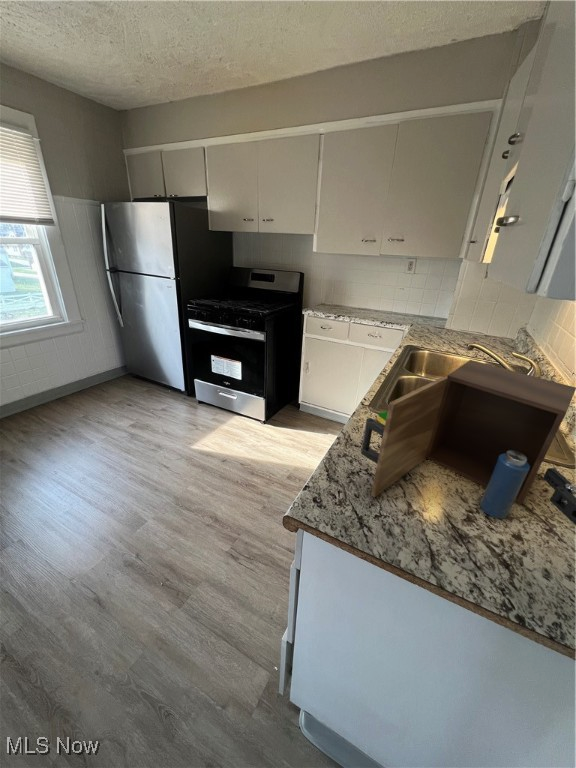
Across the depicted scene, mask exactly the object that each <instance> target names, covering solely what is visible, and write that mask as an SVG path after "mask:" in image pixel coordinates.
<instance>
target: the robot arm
mask: <svg viewBox="0 0 576 768" xmlns="http://www.w3.org/2000/svg"><path fill="white" fill-rule="evenodd" d="M543 481H545V483H547V484H548V485H549V487H551V488H552V489H553V490H554V491H553V494H552V495H551V496H550V498H549V501H550V502H551V504H552V505H553V506H554V507H556V508H557V509H558V510H559V511H560V512H561V513H562V514H563V515H564V516H565V517H566V518H567V519H569V521H571V523H572V524H574V525H575V526H576V497H575V496H574V495H576V486H575V485H573V483H572V482H571V481H569V480H568V479H567V477H565V476H564V475H563V474H562V473H560V472H559V471H558V470H557V469H556V468H554V467H548V468H546V471H545V473H544V474H543Z"/></svg>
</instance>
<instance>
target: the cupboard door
mask: <svg viewBox="0 0 576 768" xmlns="http://www.w3.org/2000/svg"><path fill="white" fill-rule="evenodd" d="M447 380H448V377H447V376H445V375H444V376H441V377H439V378H437V379H435V380H433V381H431V382H429V383H427V384H425V385H423V386H421V387H419V388H417V389H415V390H412V391H410V392H408V393H407V394H405V395H402V396H400V397H398V398H396V399H394V400H392V401H390V402H389V404H388V408H387V412H388V413H387V418H386V423H385V425H383V424H382V423H380V422H379V421H378V420H375V419H374V418H372V417H368V418H366V421H365V427H364V433H363V437H362V444H361V450H360V454H361V455H362V456H364V457H365V458H367V459H368V460H370V461H372V462H373V463H375V464H376V468H375V472H374V478H373V483H372V488H371V492H370V496H371V497H372V498H377V496H379V495H380V494H382V492H384V491H386V490H387V489H388V488H389V487H391V486H392V485H393V484H394V483H396V482H398V480H400V479H401V478H403V477H404V476H405V475H406V474H408V473H409V472H410V471H412V470H413V469H415V468H416V467H417V466H418V465H419V464H421V463H422V462H423V461H425V460H426V458H425V457H426V454H427V450H428V447H429V443H430V439H431V436H432V432H433V429H434V425H435V422H436V418H437V415H438V411H439V408H440V404H441V401H442V397H443V394H444V390H445V387H446V383H447ZM373 432H374V433H377V434H379V435H380V436H382V438H381V444H380V448H379V452H378V451H376V450H374V449H373V448H371V447H370V445H371V439H372V434H373Z"/></svg>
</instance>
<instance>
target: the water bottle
mask: <svg viewBox="0 0 576 768" xmlns="http://www.w3.org/2000/svg"><path fill="white" fill-rule="evenodd" d="M526 461H527V457H526V456H525V455H523V454H522V453H520V452H517V451H513V450H509V451H507V453H506V454H501V455H500V456H499V458H498V460H497V463H496V465H495V468H494V470H493V472H492V475H491V477H490V480H489V482H488V485H487V487H486V488H485V489H484V492H483V495H482V497H481V500H480V501H479V506H480V508H481V510H482V511H483V512H484V514H487V515H488V516H489V517H492V518H494V519H499V520H502V519H506V518H507V517H508V515H509V513H510V511H511V508H512V507H513V505H514V503H515V502H514V500H515V498H516V496H517V494H518V492H519V490H520V488H521V485H522V483H523V481H524V479H525V477H526V475H527V473H528V471H529V469H530V466H529V464H528V463H527V462H526Z"/></svg>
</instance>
